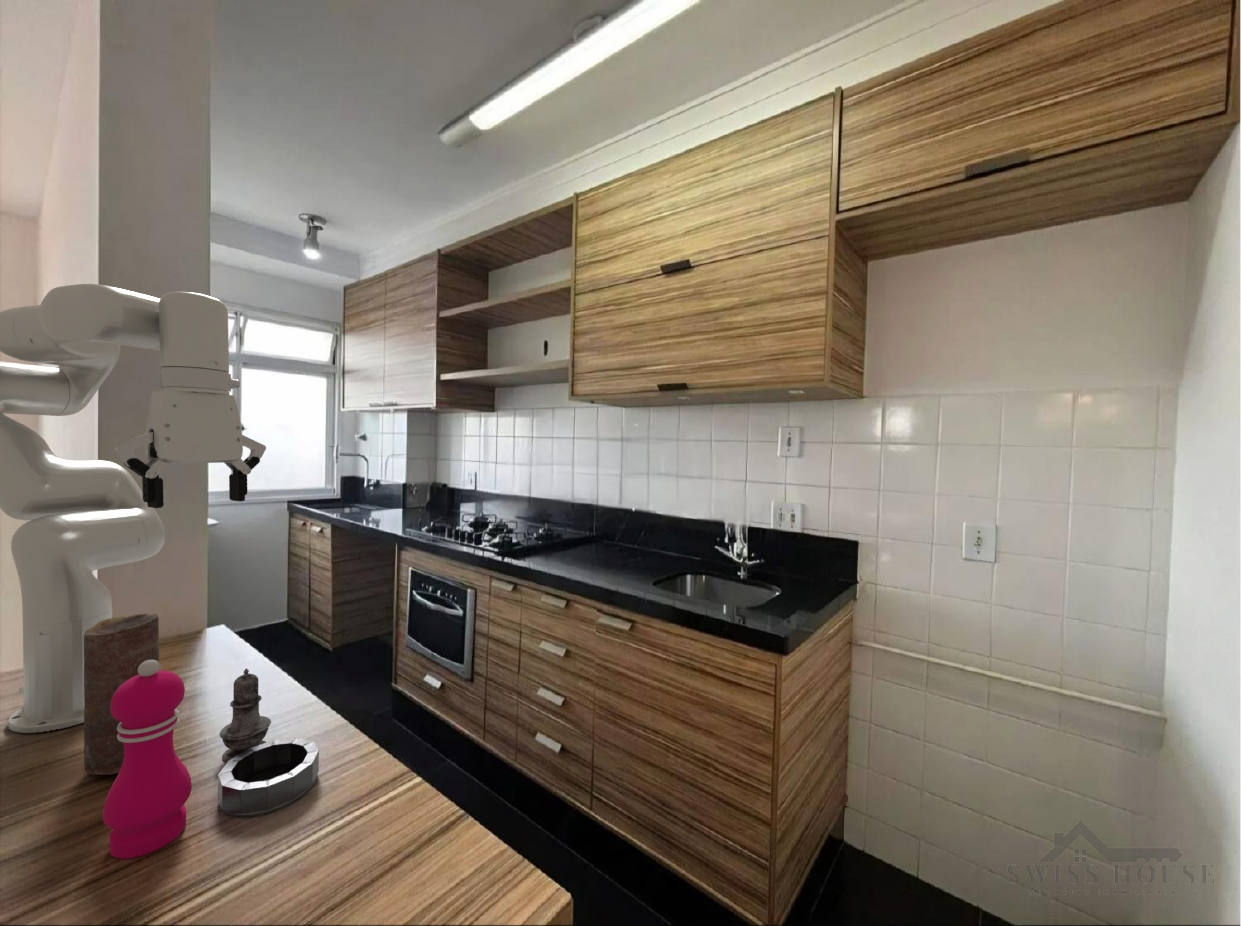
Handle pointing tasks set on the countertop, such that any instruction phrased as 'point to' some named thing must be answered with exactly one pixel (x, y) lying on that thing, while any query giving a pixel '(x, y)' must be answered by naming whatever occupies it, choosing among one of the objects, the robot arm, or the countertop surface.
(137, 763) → the pepper mill
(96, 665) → the candle
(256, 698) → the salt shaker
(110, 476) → the robot arm
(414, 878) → the countertop surface
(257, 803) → the dark gray faceted bowl
